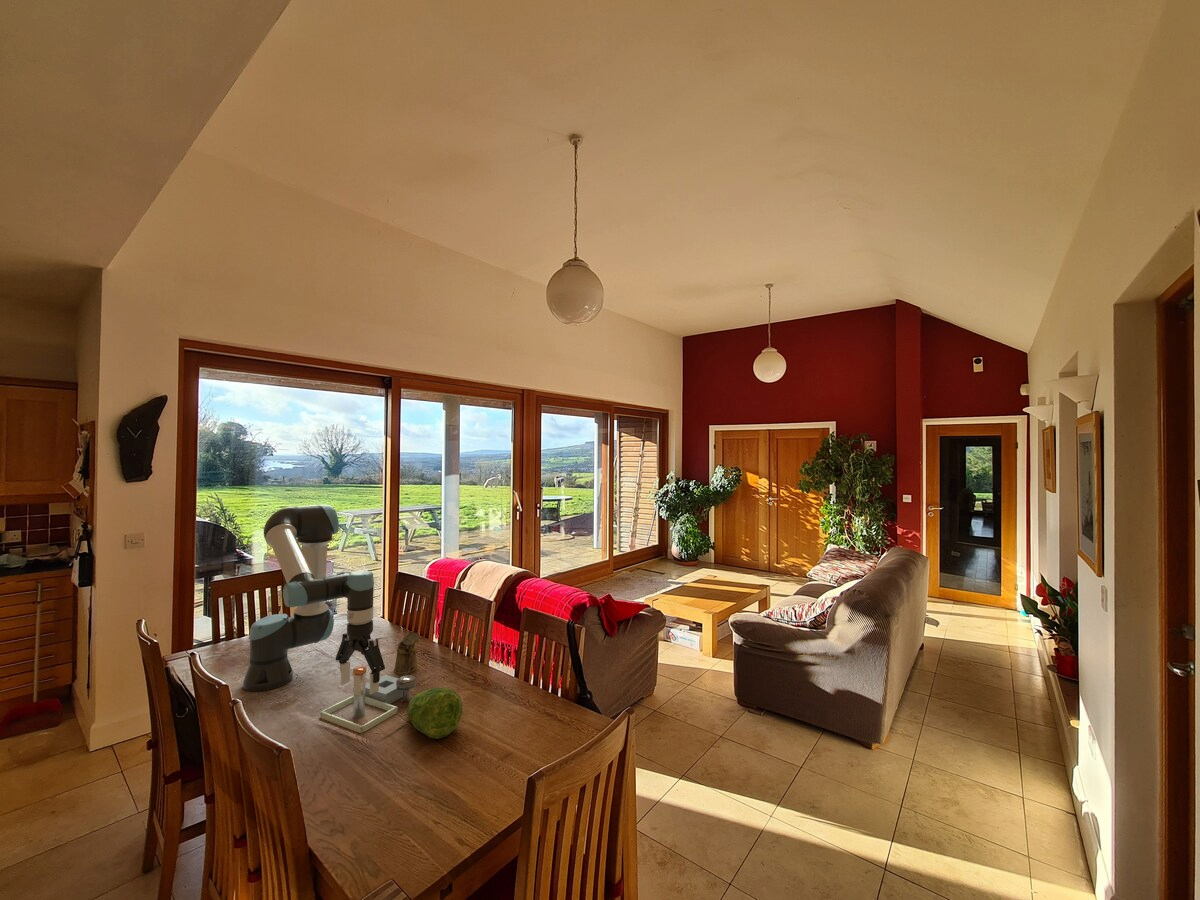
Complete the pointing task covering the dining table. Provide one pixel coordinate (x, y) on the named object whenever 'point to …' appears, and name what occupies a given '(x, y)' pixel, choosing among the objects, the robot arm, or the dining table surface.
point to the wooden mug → (407, 655)
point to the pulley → (406, 685)
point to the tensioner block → (385, 690)
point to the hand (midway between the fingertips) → (359, 687)
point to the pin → (359, 692)
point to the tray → (353, 726)
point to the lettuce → (435, 712)
